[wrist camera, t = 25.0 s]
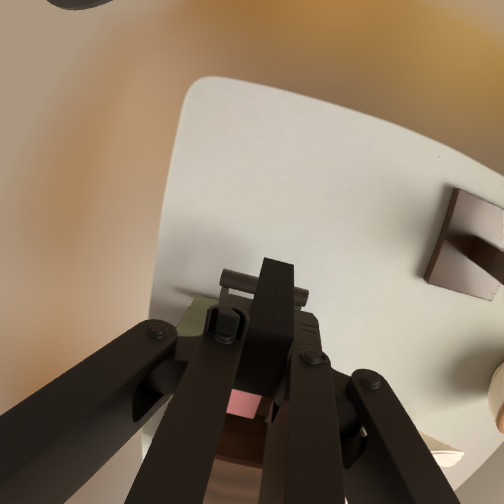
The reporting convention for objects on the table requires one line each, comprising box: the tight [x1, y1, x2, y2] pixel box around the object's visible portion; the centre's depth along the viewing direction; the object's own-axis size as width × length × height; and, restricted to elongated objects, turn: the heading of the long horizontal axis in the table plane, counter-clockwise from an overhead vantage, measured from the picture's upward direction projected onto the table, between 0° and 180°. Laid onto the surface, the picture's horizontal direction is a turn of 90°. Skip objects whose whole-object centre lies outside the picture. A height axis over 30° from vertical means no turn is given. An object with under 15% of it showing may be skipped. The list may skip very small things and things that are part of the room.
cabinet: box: [152, 400, 263, 504], centre depth 34 cm, size 16×14×11 cm
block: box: [226, 389, 262, 419], centre depth 31 cm, size 5×5×5 cm
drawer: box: [170, 269, 309, 464], centre depth 29 cm, size 20×12×9 cm, turn 167°
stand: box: [424, 187, 504, 301], centre depth 24 cm, size 10×10×9 cm
